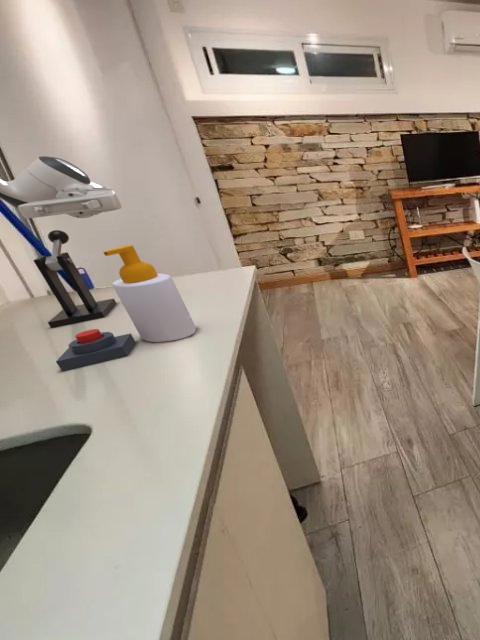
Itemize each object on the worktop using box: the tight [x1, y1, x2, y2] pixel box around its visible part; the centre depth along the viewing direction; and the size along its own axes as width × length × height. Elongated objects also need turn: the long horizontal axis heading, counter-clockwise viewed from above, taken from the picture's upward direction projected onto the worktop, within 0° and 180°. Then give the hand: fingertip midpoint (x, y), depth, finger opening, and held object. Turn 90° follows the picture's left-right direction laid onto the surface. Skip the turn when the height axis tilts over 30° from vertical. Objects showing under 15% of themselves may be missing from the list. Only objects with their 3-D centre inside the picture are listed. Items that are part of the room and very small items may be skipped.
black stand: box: [33, 251, 117, 329], centre depth 119 cm, size 12×10×16 cm
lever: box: [45, 229, 70, 272], centre depth 120 cm, size 14×4×4 cm, turn 34°
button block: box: [55, 331, 136, 372], centre depth 98 cm, size 10×8×4 cm
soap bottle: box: [102, 244, 197, 343], centre depth 103 cm, size 13×8×20 cm, turn 73°
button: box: [74, 328, 103, 344], centre depth 97 cm, size 4×4×2 cm
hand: (63, 209), depth 129 cm, fingers open, 8 cm apart
